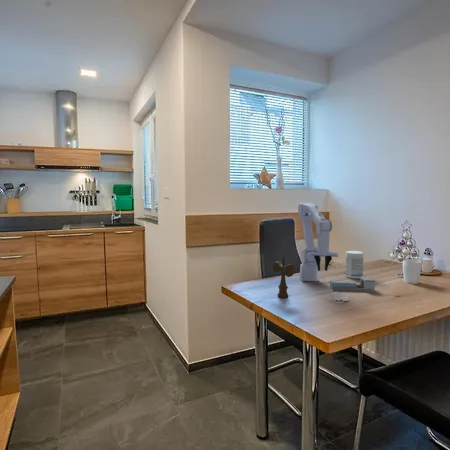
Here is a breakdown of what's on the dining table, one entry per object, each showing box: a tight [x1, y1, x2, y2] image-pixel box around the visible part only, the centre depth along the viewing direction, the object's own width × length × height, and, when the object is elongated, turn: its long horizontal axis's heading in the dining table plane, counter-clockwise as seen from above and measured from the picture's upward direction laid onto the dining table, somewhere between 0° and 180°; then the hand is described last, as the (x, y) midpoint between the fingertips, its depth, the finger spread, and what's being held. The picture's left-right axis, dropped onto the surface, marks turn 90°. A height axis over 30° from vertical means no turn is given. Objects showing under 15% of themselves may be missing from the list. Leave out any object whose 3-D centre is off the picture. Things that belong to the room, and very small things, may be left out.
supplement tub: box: [344, 250, 364, 280], centre depth 183 cm, size 10×10×15 cm
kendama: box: [272, 255, 296, 299], centre depth 148 cm, size 6×10×20 cm, turn 33°
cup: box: [402, 258, 423, 285], centre depth 172 cm, size 9×9×12 cm
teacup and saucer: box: [330, 291, 350, 302], centre depth 144 cm, size 9×8×4 cm
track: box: [332, 276, 376, 293], centre depth 161 cm, size 20×7×6 cm, turn 84°
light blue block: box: [329, 280, 357, 290], centre depth 161 cm, size 12×4×4 cm, turn 84°
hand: (322, 270), depth 161 cm, fingers open, 3 cm apart
